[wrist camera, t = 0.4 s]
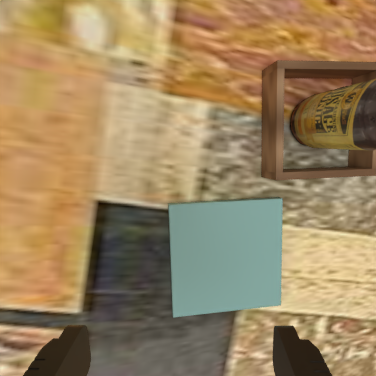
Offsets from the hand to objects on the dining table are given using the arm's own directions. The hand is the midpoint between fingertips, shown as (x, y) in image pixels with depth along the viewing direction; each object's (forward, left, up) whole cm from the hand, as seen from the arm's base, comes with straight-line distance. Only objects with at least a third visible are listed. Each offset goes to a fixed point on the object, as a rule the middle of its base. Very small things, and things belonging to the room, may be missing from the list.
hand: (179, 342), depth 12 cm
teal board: (+5, +9, -23) cm, 25 cm away
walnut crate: (-11, +20, -23) cm, 32 cm away
